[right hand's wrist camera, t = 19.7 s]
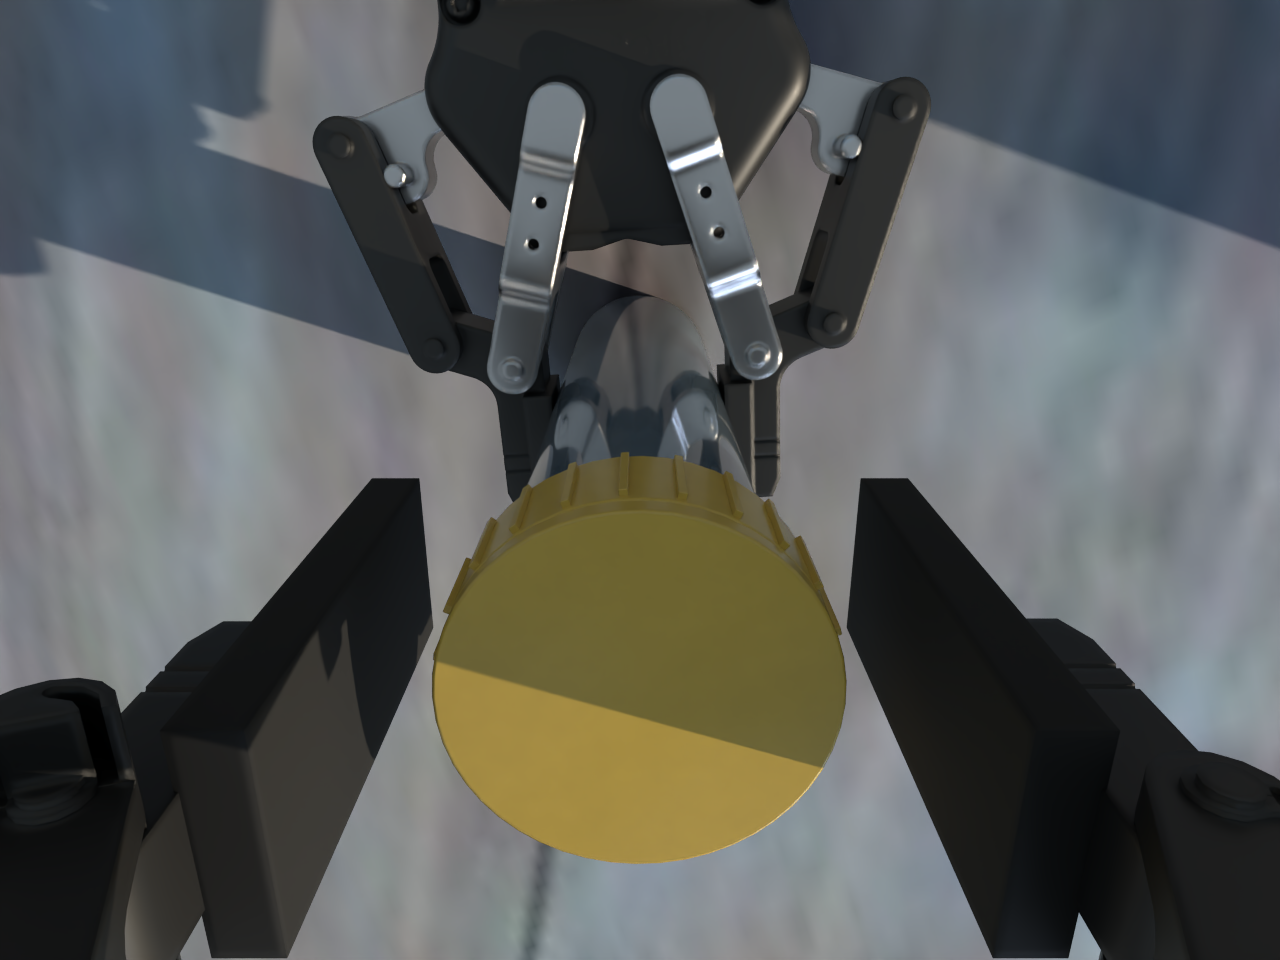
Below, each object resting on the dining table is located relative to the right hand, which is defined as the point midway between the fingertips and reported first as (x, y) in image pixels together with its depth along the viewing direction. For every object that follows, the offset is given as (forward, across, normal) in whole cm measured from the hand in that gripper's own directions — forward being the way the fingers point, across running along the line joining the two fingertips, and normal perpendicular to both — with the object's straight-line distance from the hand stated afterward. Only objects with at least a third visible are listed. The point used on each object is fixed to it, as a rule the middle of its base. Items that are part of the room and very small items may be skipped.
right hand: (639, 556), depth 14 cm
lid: (-4, 0, 0) cm, 4 cm away
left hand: (+8, 0, -3) cm, 9 cm away
